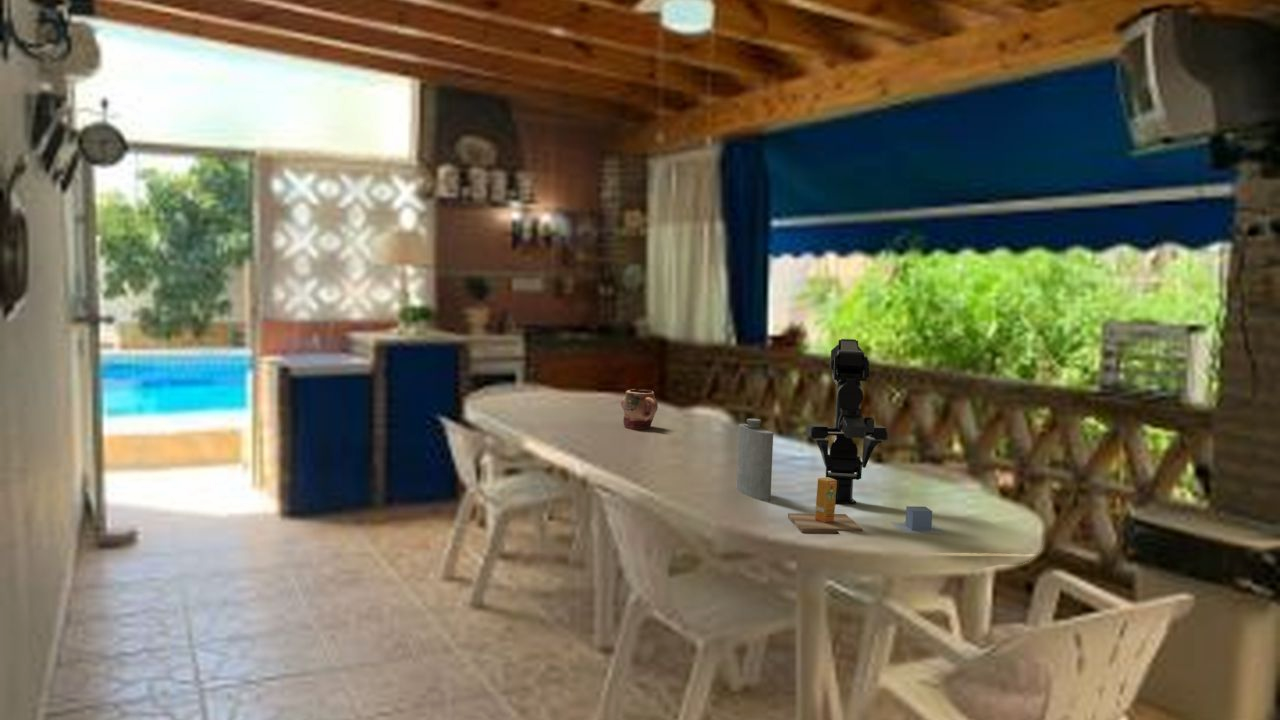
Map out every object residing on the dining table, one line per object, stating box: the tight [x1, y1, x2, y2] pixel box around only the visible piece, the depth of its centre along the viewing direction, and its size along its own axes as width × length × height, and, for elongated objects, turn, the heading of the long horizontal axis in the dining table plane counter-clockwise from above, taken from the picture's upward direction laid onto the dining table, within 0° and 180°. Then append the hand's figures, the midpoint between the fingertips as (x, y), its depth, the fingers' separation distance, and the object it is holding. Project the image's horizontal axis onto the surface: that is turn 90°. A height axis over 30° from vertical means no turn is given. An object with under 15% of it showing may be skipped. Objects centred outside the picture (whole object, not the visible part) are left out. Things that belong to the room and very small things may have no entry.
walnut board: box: [787, 512, 863, 534], centre depth 235 cm, size 14×14×1 cm
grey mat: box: [889, 521, 948, 535], centre depth 232 cm, size 10×10×1 cm
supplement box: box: [814, 476, 837, 523], centre depth 234 cm, size 3×3×10 cm
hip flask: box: [736, 418, 774, 502], centre depth 265 cm, size 16×4×20 cm, turn 20°
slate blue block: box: [905, 505, 933, 531], centre depth 232 cm, size 4×4×4 cm
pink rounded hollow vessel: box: [620, 388, 659, 430], centre depth 370 cm, size 20×12×14 cm, turn 36°
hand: (845, 467), depth 243 cm, fingers open, 9 cm apart
